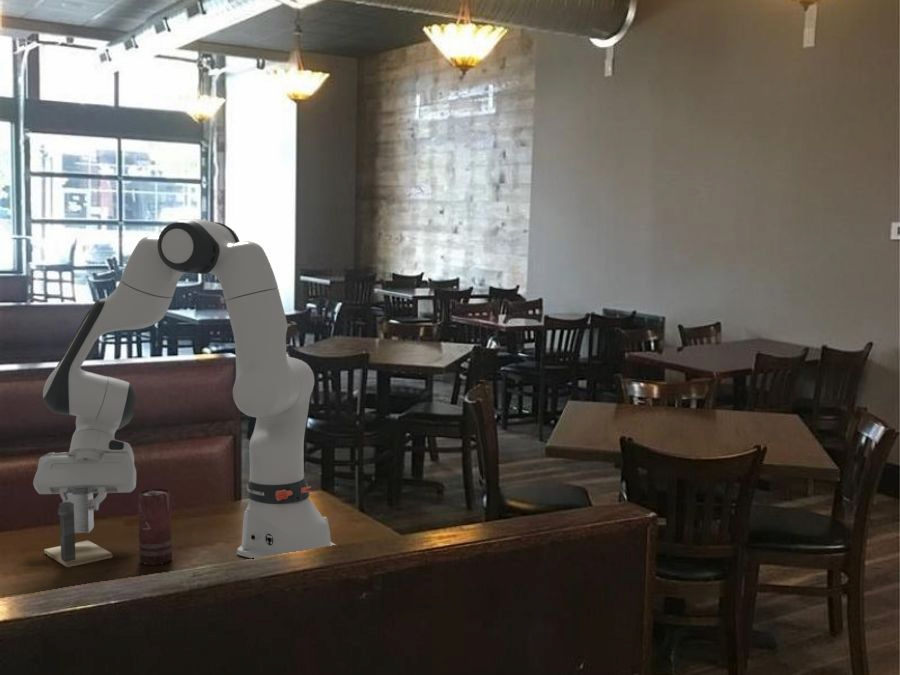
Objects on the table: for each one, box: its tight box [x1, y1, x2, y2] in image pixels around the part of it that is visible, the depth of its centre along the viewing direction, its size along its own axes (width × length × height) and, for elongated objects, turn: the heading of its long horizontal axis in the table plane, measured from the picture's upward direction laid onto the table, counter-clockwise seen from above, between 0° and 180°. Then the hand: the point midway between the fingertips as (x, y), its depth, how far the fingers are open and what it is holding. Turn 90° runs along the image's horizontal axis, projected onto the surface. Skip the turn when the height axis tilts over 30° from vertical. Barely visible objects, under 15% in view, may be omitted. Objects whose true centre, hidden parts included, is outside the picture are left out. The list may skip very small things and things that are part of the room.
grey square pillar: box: [66, 488, 95, 534], centre depth 196 cm, size 4×4×9 cm
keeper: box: [43, 502, 114, 568], centre depth 191 cm, size 13×11×12 cm
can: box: [137, 488, 173, 565], centre depth 189 cm, size 6×6×14 cm
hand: (79, 509), depth 196 cm, fingers closed on grey square pillar, 4 cm apart
